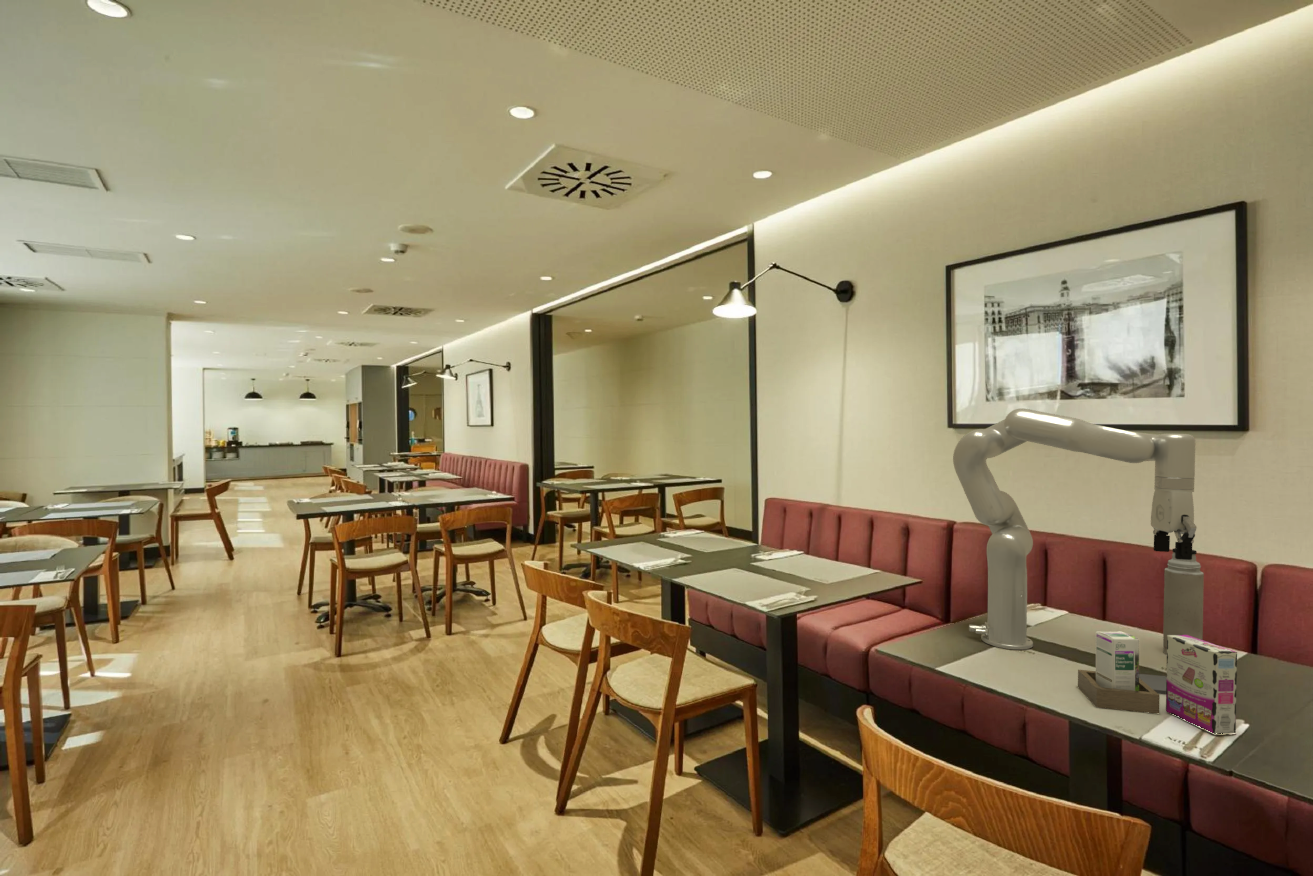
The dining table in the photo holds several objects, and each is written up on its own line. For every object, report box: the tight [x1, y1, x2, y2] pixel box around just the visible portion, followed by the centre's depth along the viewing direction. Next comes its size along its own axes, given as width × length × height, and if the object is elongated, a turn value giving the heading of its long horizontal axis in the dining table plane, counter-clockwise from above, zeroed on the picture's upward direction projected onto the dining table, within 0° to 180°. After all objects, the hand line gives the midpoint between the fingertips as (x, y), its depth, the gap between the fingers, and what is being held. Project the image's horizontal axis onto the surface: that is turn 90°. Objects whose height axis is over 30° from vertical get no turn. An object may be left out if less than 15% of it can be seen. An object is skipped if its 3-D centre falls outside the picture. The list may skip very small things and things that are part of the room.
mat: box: [1139, 673, 1167, 695], centre depth 150 cm, size 10×10×1 cm
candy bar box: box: [1165, 635, 1238, 734], centre depth 131 cm, size 11×5×16 cm, turn 5°
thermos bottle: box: [1162, 547, 1205, 656], centre depth 170 cm, size 8×8×28 cm
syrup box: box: [1095, 630, 1140, 691], centre depth 142 cm, size 6×6×14 cm
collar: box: [1077, 669, 1161, 714], centre depth 142 cm, size 11×11×4 cm
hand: (1172, 555), depth 157 cm, fingers open, 9 cm apart
